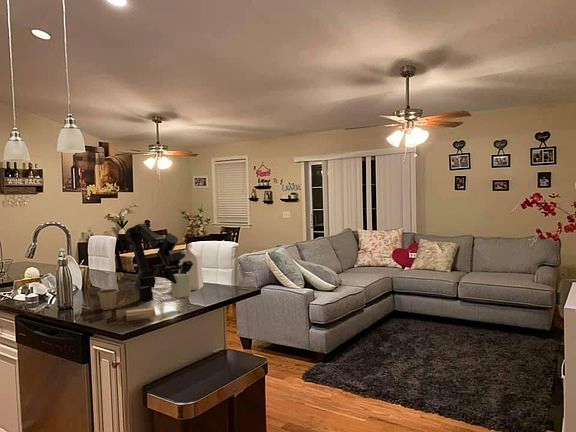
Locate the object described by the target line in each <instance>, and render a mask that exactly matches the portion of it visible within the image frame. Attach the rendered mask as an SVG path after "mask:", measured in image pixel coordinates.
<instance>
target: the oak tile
mask: <svg viewBox="0 0 576 432" xmlns="http://www.w3.org/2000/svg"><path fill="white" fill-rule="evenodd" d="M125 313H126V315H125V316H126V322H129V321H137V320H145V319H153V318H156V316H157V315H156V310H155V307H154V306H151V307H143V308H135V309H128V310H126V311H125Z"/></svg>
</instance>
